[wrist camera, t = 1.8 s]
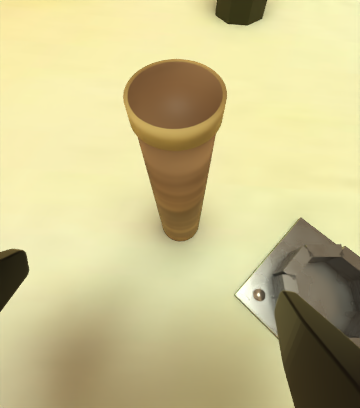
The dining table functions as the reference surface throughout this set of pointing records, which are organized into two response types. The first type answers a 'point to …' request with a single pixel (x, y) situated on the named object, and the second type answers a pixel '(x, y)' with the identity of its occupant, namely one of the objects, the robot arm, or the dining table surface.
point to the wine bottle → (240, 11)
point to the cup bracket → (308, 280)
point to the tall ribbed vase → (176, 135)
